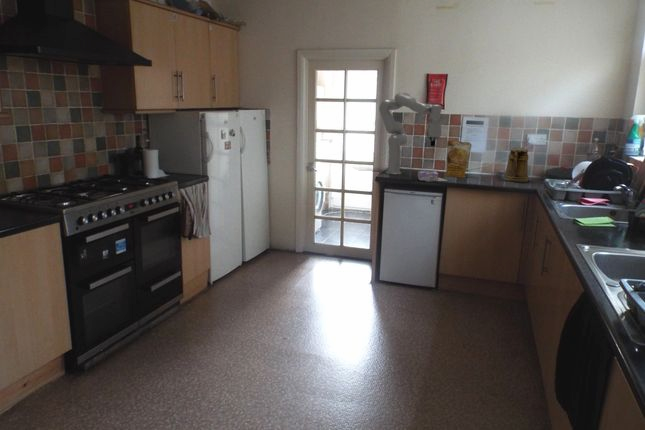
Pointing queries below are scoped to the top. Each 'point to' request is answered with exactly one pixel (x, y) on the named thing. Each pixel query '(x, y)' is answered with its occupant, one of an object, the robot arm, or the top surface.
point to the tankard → (517, 166)
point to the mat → (438, 180)
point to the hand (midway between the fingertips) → (432, 146)
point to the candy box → (428, 175)
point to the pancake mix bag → (457, 158)
